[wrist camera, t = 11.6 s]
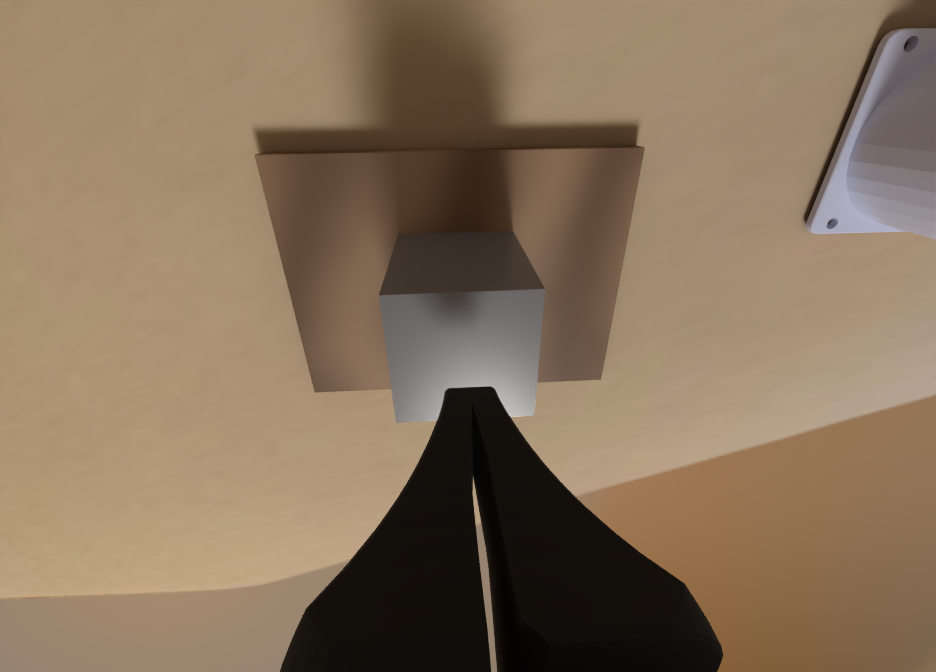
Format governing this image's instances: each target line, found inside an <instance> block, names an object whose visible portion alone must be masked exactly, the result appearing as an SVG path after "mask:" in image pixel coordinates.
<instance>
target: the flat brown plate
mask: <svg viewBox="0 0 936 672" xmlns="http://www.w3.org/2000/svg"><path fill="white" fill-rule="evenodd" d="M643 154H644V147H640V146H594V147H541V148H488V149H435V150H382V151H330V152H277V153H260V154H256V155H255V158H256V162H257V166H258V170H259V174H260V178H261V182H262V186H263V190H264V194H265V198H266V202H267V206H268V209H269V213H270V217H271V221H272V225H273V229H274V233H275V237H276V241H277V245H278V249H279V253H280V257H281V261H282V265H283V269H284V273H285V277H286V281H287V284H288V288H289V292H290V296H291V300H292V304H293V308H294V312H295V316H296V320H297V324H298V328H299V332H300V336H301V340H302V344H303V348H304V352H305V355H306V359H307V363H308V367H309V371H310V375H311V379H312V383H313V387H314V391H315V392H335V391H357V390H379V389H392V388H391V381H390V374H389V367H388V359H387V352H386V345H385V337H384V330H383V323H382V316H381V308H380V301H379V293H380V290H381V287H382V283H383V280H384V277H385V274H386V271H387V268H388V264H389V261H390V258H391V255H392V252H393V249H394V245H395V242H396V239H397V236H398V234H426V233H458V232H490V231H513V232H514V234H515V235H516V237H517V239H518V241H519V243H520V244H521V246H522V248H523V250H524V252H525V253H526V255H527V257H528V259H529V261H530V262H531V264H532V266H533V268H534V270H535V271H536V273H537V275H538V277H539V279H540V280H541V282H542V284H543V286H544V288H545V299H544V310H543V321H542V333H541V344H540V356H539V367H538V378H537V382H556V381H578V380H601V376H602V371H603V365H604V360H605V355H606V350H607V344H608V339H609V334H610V328H611V323H612V318H613V312H614V307H615V302H616V297H617V291H618V286H619V281H620V275H621V270H622V265H623V259H624V254H625V249H626V244H627V238H628V233H629V228H630V222H631V217H632V212H633V207H634V201H635V196H636V191H637V185H638V180H639V175H640V169H641V164H642V159H643Z"/></svg>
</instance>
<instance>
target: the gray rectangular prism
mask: <svg viewBox="0 0 936 672" xmlns="http://www.w3.org/2000/svg"><path fill="white" fill-rule="evenodd" d="M544 299H545V288H544V286H543V284H542V282H541V280H540V279H539V277H538V275H537V273H536V271H535V270H534V268H533V266H532V264H531V262H530V261H529V259H528V257H527V255H526V253H525V252H524V250H523V248H522V246H521V244H520V243H519V241H518V239H517V237H516V235H515V234H514V232H513V231H490V232H458V233H426V234H398V236H397V239H396V242H395V245H394V249H393V252H392V255H391V258H390V261H389V264H388V268H387V271H386V274H385V277H384V280H383V283H382V287H381V290H380V293H379V301H380V308H381V316H382V323H383V330H384V337H385V345H386V352H387V359H388V367H389V374H390V381H391V388H392V396H393V403H394V410H395V418H396V423H400V422H419V421H437V420H438V417H439V414H440V411H441V407H442V404H443V399H444V392H445V391H446V390H447V389H448V388H463V387H485V386H492V387H493V388H494V389H495V390H496V392H497V394H498V396H499V398H500V400H501V402H502V404H503V406H504V408H505V409H506V411H507V413H508V414H509V416H510V417H517V416H534V412H535V401H536V390H537V378H538V367H539V356H540V344H541V333H542V321H543V310H544Z"/></svg>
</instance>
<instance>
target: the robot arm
mask: <svg viewBox="0 0 936 672" xmlns="http://www.w3.org/2000/svg"><path fill="white" fill-rule="evenodd" d="M907 40H908V45H907V47H906V48H905V50H904V44H905V43H906V41H907ZM829 220H831V222H830V223H829V224H828V225H827V223H828V222H829ZM806 229H807V230H808V231H809V232H811V233H815V234H832V233H866V232H900V231H908V232H912V233H915V234H919V235H922V236H926V237H929V238H933V239H936V28H904V29H897V30H893V31H891V32H889V33H888V34H886V35H885V36H884V37H883V38H882V40H881V42H880V43H879V45H878V47H877V50H876V52H875V55H874V57H873V60H872V62H871V65H870V67H869V70H868V72H867V75H866V77H865V80H864V82H863V84H862V87H861V89H860V92H859V94H858V97H857V99H856V102H855V104H854V107H853V109H852V112H851V114H850V116H849V119H848V121H847V124H846V126H845V129H844V131H843V134H842V136H841V139H840V141H839V144H838V146H837V149H836V151H835V153H834V156H833V158H832V161H831V163H830V166H829V168H828V171H827V173H826V176H825V178H824V181H823V183H822V185H821V188H820V190H819V193H818V195H817V198H816V200H815V203H814V205H813V208H812V210H811V213H810V215H809V218H808V220H807V223H806ZM473 477H474V483H475V489H476V495H477V500H478V506H479V512H480V517H481V523H482V529H483V535H484V540H485V545H486V552H487V559H488V567H489V578H490V590H491V602H492V613H493V624H494V636H495V649H496V662H497V672H717V670H718V669H719V666H720V663H721V661H722V658H723V652H722V648H721V645H720V643H719V641H718V639H717V637H716V635H715V633H714V631H713V629H712V627H711V625H710V623H709V621H708V620H707V618H706V616H705V615H704V613H703V612H702V610H701V608H700V607H699V605H698V604H697V602H696V601H695V599H694V597H693V596H692V594H691V593H690V591H689V590H688V588H687V587H686V585H685V584H684V583H683V582H681V581H680V580H679V579H677V578H676V577H674V576H673V575H671V574H670V573H668V572H667V571H666V570H664V569H663V568H661V567H660V566H658V565H657V564H656V563H654V562H653V561H651V560H650V559H648V558H647V557H646V556H644V555H643V554H641V553H640V552H638V551H637V550H636V549H635V548H634V547H632V546H631V545H630V544H628V543H627V542H626V541H625V540H623V539H622V538H621V537H620V536H618V535H617V534H616V533H615V532H614V531H612V530H611V529H610V528H609V527H608V526H607V525H606V524H605V523H603V522H602V521H601V520H600V519H599V518H598V517H597V516H595V515H594V514H593V513H592V512H591V511H590V510H589V509H587V508H586V507H585V506H584V505H583V504H582V503H581V502H580V501H579V500H578V499H577V498H576V497H575V496H574V495H573V494H572V493H571V492H570V491H569V490H568V489H567V488H566V487H565V486H564V485H563V484H562V483H561V482H560V481H559V480H558V479H557V477H556V476H555V475H554V474H553V473H552V472H551V471H550V470H549V468H548V467H547V466H546V465H545V464H544V463H543V461H542V460H541V459H540V458H539V456H538V455H537V454H536V453H535V451H534V450H533V449H532V448H531V446H530V445H529V444H528V442H527V441H526V439H525V438H524V437H523V435H522V434H521V432H520V431H519V429H518V428H517V427H516V425H515V424H514V422H513V421H512V419H511V418H510V416H509V414H508V413H507V411H506V409H505V408H504V406H503V404H502V402H501V400H500V398H499V396H498V394H497V392H496V390H495V389H494V388H493V387H492V386H485V387H463V388H448V389H447V390H446V391H445V392H444V399H443V404H442V407H441V411H440V414H439V417H438V420H437V422H436V425H435V427H434V430H433V432H432V435H431V437H430V440H429V442H428V444H427V446H426V448H425V450H424V452H423V454H422V456H421V458H420V460H419V462H418V464H417V466H416V468H415V470H414V472H413V473H412V475H411V477H410V479H409V480H408V482H407V484H406V485H405V487H404V489H403V490H402V492H401V493H400V495H399V497H398V498H397V500H396V501H395V502H394V504H393V505H392V507H391V508H390V510H389V511H388V513H387V514H386V516H385V517H384V518H383V520H382V521H381V523H380V524H379V525H378V527H377V528H376V529H375V531H374V532H373V533H372V534H371V536H370V537H369V538H368V539H367V541H366V542H365V543H364V544H363V546H362V547H361V548H360V549H359V550H358V552H357V553H356V554H355V555H354V557H353V558H352V559H351V560H350V562H349V563H348V564H347V565H346V566H345V567H344V568H343V570H342V571H341V572H340V573H339V574H338V575H337V576H336V577H335V578H334V579H333V580H332V581H331V583H330V584H329V585H328V586H327V587H326V588H325V589H324V590H323V591H322V592H321V593H320V594H319V595H318V597H317V598H316V599H315V600H314V601H313V602H312V603H311V604H310V605H309V606H308V607H307V608H306V610H305V612H304V614H303V616H302V619H301V621H300V623H299V625H298V627H297V629H296V631H295V634H294V636H293V638H292V641H291V643H290V646H289V648H288V651H287V653H286V656H285V659H284V661H283V664H282V667H281V670H280V672H491V665H490V653H489V643H488V632H487V631H488V630H487V622H486V615H485V606H484V597H483V589H482V581H481V572H480V563H479V554H478V544H477V535H476V525H475V515H474V505H473V495H472V491H473Z"/></svg>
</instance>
